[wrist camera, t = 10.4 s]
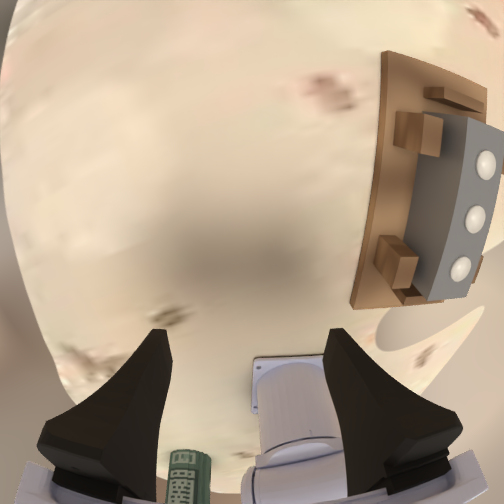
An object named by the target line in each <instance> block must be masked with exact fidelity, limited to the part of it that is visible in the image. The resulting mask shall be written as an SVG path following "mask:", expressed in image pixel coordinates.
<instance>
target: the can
mask: <svg viewBox="0 0 504 504" xmlns="http://www.w3.org/2000/svg"><path fill="white" fill-rule="evenodd" d="M210 480H211V458H210V457H209V456H208V455H207V454H204V453H203V452H199V451H195V450H194V451H190V450H177V451H173V452H172V453H171V456H170V464H169V472H168V481H167V490H166V499H165V504H210Z"/></svg>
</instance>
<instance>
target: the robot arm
mask: <svg viewBox="0 0 504 504" xmlns="http://www.w3.org/2000/svg"><path fill="white" fill-rule="evenodd" d="M172 363H173V360H172V356H171V351H170V346H169V341H168V336H167V331H166V330H165V329H152V330H151V331H150V333H149V334H148V335H147V337H146V338H145V339H144V341H143V342H142V343H141V344H140V346H139V347H138V348H137V349H136V351H135V352H134V353H133V354H132V356H131V357H130V358H129V359H128V360H127V361H126V363H125V364H124V365H123V366H122V367H121V368H120V369H119V370H118V371H117V372H116V373H115V374H114V375H113V376H112V377H111V378H110V379H109V380H108V381H107V382H106V383H105V384H104V385H103V386H102V387H101V388H99V389H98V390H97V391H96V392H94V393H93V394H92V395H91V396H89V397H88V398H87V399H85V400H84V401H82V402H81V403H79V404H78V405H76V406H75V407H73V408H71V409H70V410H68V411H66V412H64V413H63V414H61V415H59V416H56V417H55V418H53V419H50V420H48V421H46V423H45V425H44V427H43V429H42V432H41V435H40V438H39V440H38V443H37V448H38V450H39V451H40V453H41V454H42V455H43V456H44V457H46V458H47V459H48V460H49V461H50V462H51V463H52V464H53V465H55V466H56V467H55V471H54V472H53V471H52V470H50V469H48V468H46V467H43V466H41V465H39V464H36V463H34V462H32V461H29V460H28V461H27V463H26V466H25V469H24V472H23V475H22V478H21V481H20V484H19V488H18V491H17V495H16V498H15V501H14V503H15V504H163V503H156V464H157V449H158V438H159V428H160V423H161V418H162V414H163V410H164V405H165V401H166V397H167V393H168V389H169V385H170V380H171V372H172ZM258 366H259V367H258ZM251 412H252V413H253V414H258V415H259V429H260V443H261V455H257V456H255V458H256V466H251V467H249V468H248V470H247V471H246V473H245V474H244V476H243V478H242V482H241V500H242V504H466V503H467V502H469V501H471V500H472V499H474V498H476V497H477V496H479V495H480V494H482V493H483V492H485V491H486V490H488V485H487V482H486V480H485V477H484V475H483V473H482V470H481V468H480V466H479V464H478V461H477V459H476V457H475V454H474V452H473V450H469V451H467V452H465V453H462V454H460V455H458V456H456V457H454V458H453V459H451V460H449V461H448V459H447V456H448V455H449V451H448V447H449V445H451V444H452V443H453V442H454V440H456V438H457V437H458V436H459V435H460V434H461V432H462V430H463V426H462V424H461V422H460V420H459V418H458V416H457V414H456V413H455V412H454V411H451V410H449V409H446V408H443V407H441V406H438V405H436V404H434V403H432V402H430V401H428V400H426V399H424V398H423V397H421V396H419V395H417V394H416V393H414V392H412V391H411V390H409V389H408V388H406V387H405V386H403V385H402V384H401V383H399V382H398V381H397V380H395V379H394V378H393V377H391V376H390V375H389V374H388V373H387V372H385V371H384V370H383V369H382V368H381V367H380V366H379V365H378V364H377V363H376V362H374V361H373V360H372V359H371V358H370V357H369V356H368V355H367V354H366V353H365V351H364V350H363V349H362V348H361V347H360V346H359V345H358V344H357V343H356V342H355V341H354V340H353V339H352V337H351V336H350V335H349V334H348V333H347V332H346V331H345V330H344V329H343V328H336V329H330V331H329V335H328V339H327V343H326V347H325V351H324V355H318V356H302V357H280V358H257V359H255V360H254V362H253V382H252V402H251Z"/></svg>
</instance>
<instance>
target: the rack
mask: <svg viewBox="0 0 504 504" xmlns="http://www.w3.org/2000/svg"><path fill="white" fill-rule="evenodd" d="M486 110H487V88H485V87H483V86H481V85H479V84H477V83H475V82H472V81H470V80H468V79H466V78H464V77H461V76H459V75H457V74H455V73H452V72H450V71H447V70H445V69H442V68H440V67H437V66H435V65H432V64H429V63H426V62H424V61H421V60H418V59H415V58H412V57H409V56H406V55H402V54H399V53H396V52H392V51H389V50H387V51H384V52H382V63H381V97H380V114H379V128H378V139H377V150H376V159H375V168H374V176H373V183H372V191H371V197H370V204H369V210H368V217H367V222H366V228H365V234H364V239H363V244H362V250H361V255H360V259H359V264H358V269H357V274H356V278H355V282H354V287H353V291H352V295H351V299H350V304H351V306H352V308H353V310H358V309H374V308H387V307H400V306H411V305H421V304H432V303H442V302H444V300H445V299H444V300H434V301H427V300H426V299H425V298H424V297H423V296H422V294H421V293H420V292H419V291H418V289H417V288H416V287H415V286H414V285H413V284H412V279H413V276H414V272H415V269H416V265H417V262H418V258H419V257H418V256H417V255H416V254H415V253H414V252H413V251H412V250H411V249H410V248H409V247H408V246H407V245H406V244H405V243H404V242H403V238H404V233H405V229H406V224H407V219H408V214H409V209H410V204H411V199H412V193H413V187H414V181H415V174H416V168H417V160H418V153H420V154H425V155H430V156H435V157H439V156H440V149H441V140H442V130H443V119H441V118H438V117H434V116H431V115H427V114H423V113H422V111H425V112H435V113H444V114H452V115H459V116H466V117H470V118H472V119H475V120H477V121H480V122H482V123H485V124H486ZM501 174H504V159H503V166H502V172H501ZM482 260H483V256H482V255H481V258H480V261H479V263H478V266H477V269H476V272H475V275H474V278H473V280H472V283H475V280H476V277H477V275H478V272H479V269H480V266H481V263H482ZM472 283H471V284H472Z"/></svg>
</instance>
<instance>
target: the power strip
mask: <svg viewBox="0 0 504 504" xmlns="http://www.w3.org/2000/svg"><path fill="white" fill-rule="evenodd" d="M422 113H423V114H427V115H431V116H434V117H438V118H441V119H443V130H442V140H441V149H440V156H439V157H435V156H430V155H425V154H420V153H418V160H417V168H416V174H415V181H414V187H413V193H412V199H411V204H410V209H409V214H408V219H407V224H406V229H405V233H404V238H403V242H404V243H405V244H406V245H407V246H408V247H409V248H410V249H411V250H412V251H413V252H414V253H415V254H416V255H417V256H418V257H419V258H418V262H417V265H416V269H415V272H414V276H413V279H412V284H413V285H414V286H415V287H416V288H417V289H418V291H419V292H420V293H421V294H422V296H423V297H424V298H425V299H426V300H427V301H434V300H444V299H453V298H462V297H466V296H467V293H468V291H469V288H470V285H471V283H472V280H473V278H474V275H475V272H476V269H477V266H478V263H479V261H480V258H481V254H482V251H483V248H484V245H485V242H486V238H487V235H488V231H489V228H490V224H491V220H492V216H493V212H494V208H495V203H496V199H497V194H498V189H499V184H500V178H501V172H502V166H503V159H504V132H503V131H501V130H499V129H496V128H494V127H492V126H490V125H487V124H485V123H482V122H480V121H477V120H475V119H472V118H470V117H466V116H459V115H452V114H444V113H435V112H425V111H422Z"/></svg>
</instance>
